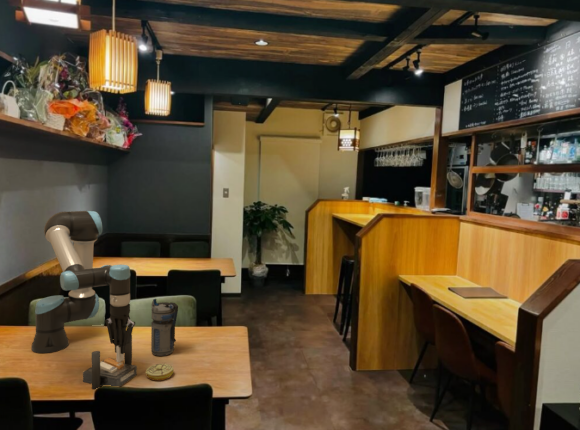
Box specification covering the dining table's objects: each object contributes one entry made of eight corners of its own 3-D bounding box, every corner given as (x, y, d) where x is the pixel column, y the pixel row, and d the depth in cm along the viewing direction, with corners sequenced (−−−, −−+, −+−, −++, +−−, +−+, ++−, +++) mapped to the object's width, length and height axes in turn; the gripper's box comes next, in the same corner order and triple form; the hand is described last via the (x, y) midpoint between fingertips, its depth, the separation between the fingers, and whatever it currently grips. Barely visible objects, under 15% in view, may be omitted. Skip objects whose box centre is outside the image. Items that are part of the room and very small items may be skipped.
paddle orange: (103, 362, 170) (104, 359, 170) (108, 359, 173) (108, 357, 172) (119, 369, 168) (119, 366, 168) (123, 366, 171) (124, 363, 170)
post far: (122, 367, 178) (122, 336, 177) (127, 365, 181) (127, 333, 180) (128, 369, 177) (128, 337, 176) (133, 366, 180) (133, 334, 179)
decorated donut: (156, 368, 179) (156, 360, 179) (178, 373, 176) (178, 364, 176) (140, 379, 169) (140, 370, 169) (163, 384, 166) (163, 374, 166)
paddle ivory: (96, 366, 166) (96, 363, 166) (101, 363, 169) (101, 361, 169) (112, 373, 164) (112, 370, 164) (116, 370, 167) (117, 367, 167)
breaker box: (82, 381, 165) (82, 369, 165) (104, 368, 177) (104, 357, 176) (117, 388, 161) (117, 376, 160) (137, 375, 172) (137, 363, 172)
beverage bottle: (170, 359, 188) (171, 305, 186) (145, 354, 192) (145, 301, 190) (182, 350, 198) (183, 299, 196) (158, 346, 202) (158, 296, 199)
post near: (89, 388, 160) (89, 353, 159) (95, 385, 163) (95, 350, 162) (96, 390, 159) (96, 354, 158) (102, 386, 162) (101, 351, 161)
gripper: (99, 304, 165) (100, 362, 167) (127, 308, 162) (127, 367, 164) (112, 299, 173) (113, 354, 175) (139, 303, 169) (139, 359, 171)
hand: (120, 360), depth 169 cm, fingers closed
